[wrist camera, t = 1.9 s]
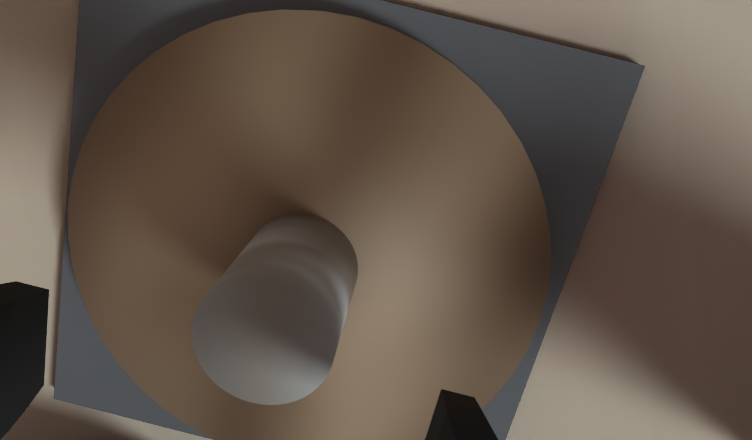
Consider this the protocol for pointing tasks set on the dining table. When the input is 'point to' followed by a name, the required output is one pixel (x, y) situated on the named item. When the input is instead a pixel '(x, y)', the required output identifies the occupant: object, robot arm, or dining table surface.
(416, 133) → the lid
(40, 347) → the robot arm
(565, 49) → the mat
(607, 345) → the dining table surface
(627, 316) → the dining table surface
